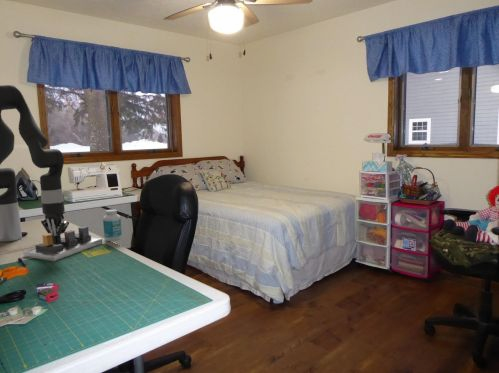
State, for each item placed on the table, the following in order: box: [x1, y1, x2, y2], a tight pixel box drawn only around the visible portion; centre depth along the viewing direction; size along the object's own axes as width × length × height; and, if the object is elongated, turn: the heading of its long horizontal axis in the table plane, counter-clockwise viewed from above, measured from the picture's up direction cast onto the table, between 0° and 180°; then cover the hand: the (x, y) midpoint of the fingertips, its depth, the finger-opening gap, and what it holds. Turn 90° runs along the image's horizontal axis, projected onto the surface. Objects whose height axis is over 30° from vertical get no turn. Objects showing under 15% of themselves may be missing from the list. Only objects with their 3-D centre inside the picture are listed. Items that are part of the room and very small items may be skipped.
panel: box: [23, 226, 104, 262], centre depth 148 cm, size 17×24×8 cm
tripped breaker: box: [42, 233, 53, 246], centre depth 141 cm, size 2×3×4 cm
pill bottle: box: [102, 209, 123, 242], centre depth 161 cm, size 8×7×14 cm
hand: (57, 244), depth 140 cm, fingers closed
